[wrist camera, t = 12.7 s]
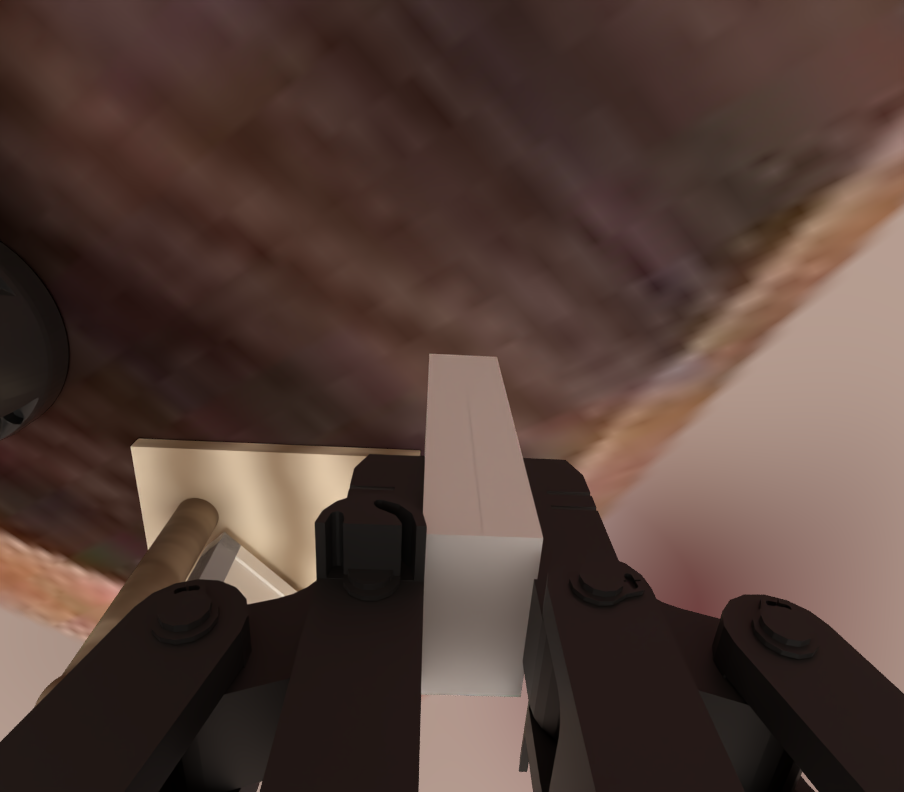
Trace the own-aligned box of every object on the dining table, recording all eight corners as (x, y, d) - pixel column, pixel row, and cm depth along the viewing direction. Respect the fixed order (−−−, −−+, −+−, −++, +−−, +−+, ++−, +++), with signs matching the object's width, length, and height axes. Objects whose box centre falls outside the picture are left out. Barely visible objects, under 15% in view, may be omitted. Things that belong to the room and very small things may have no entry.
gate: (205, 546, 45) (130, 682, 34) (224, 531, 44) (153, 664, 33) (365, 674, 50) (345, 827, 39) (383, 662, 50) (368, 814, 39)
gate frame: (171, 641, 51) (29, 913, 33) (138, 438, 43) (-69, 651, 26) (411, 647, 52) (398, 916, 34) (420, 450, 44) (408, 664, 27)
